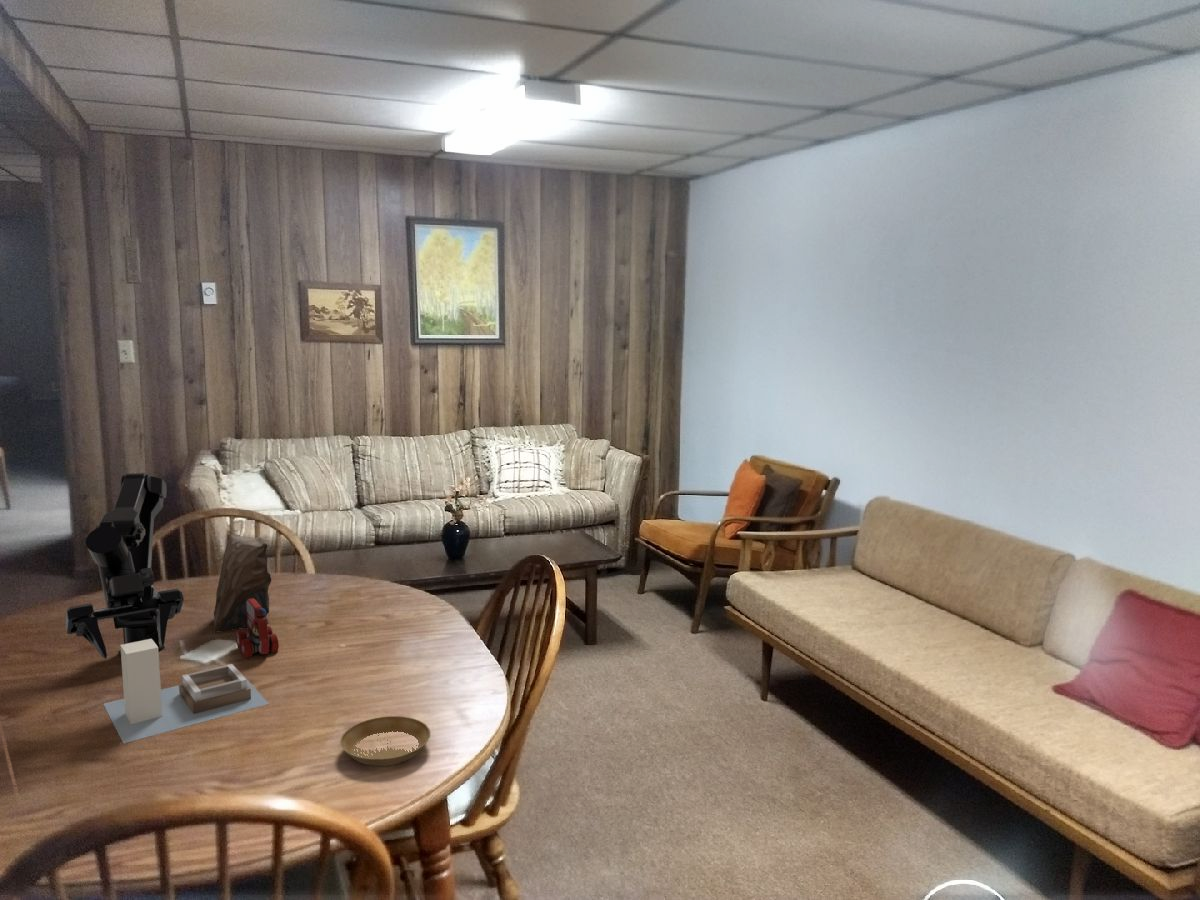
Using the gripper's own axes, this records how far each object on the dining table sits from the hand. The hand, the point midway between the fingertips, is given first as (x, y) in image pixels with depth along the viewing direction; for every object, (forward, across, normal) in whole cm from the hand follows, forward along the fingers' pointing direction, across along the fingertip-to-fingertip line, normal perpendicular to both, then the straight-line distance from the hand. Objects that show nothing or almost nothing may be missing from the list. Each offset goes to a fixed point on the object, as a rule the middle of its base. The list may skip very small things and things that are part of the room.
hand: (134, 651), depth 151 cm
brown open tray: (+10, +12, +5) cm, 17 cm away
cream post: (+10, 0, +5) cm, 11 cm away
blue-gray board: (+10, +7, +5) cm, 14 cm away
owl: (-16, +27, +32) cm, 45 cm away
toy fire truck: (-2, +26, +18) cm, 32 cm away
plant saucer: (+36, +30, -20) cm, 51 cm away
